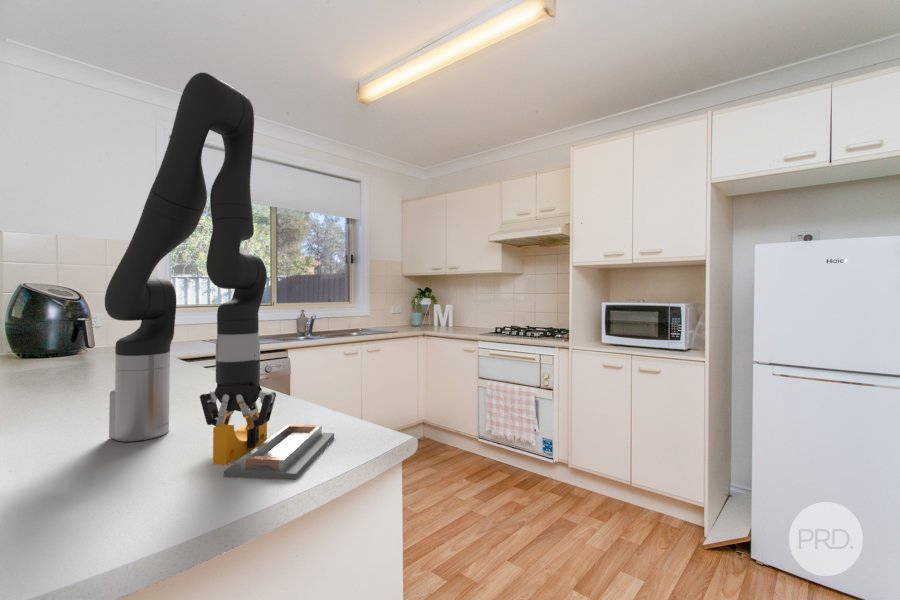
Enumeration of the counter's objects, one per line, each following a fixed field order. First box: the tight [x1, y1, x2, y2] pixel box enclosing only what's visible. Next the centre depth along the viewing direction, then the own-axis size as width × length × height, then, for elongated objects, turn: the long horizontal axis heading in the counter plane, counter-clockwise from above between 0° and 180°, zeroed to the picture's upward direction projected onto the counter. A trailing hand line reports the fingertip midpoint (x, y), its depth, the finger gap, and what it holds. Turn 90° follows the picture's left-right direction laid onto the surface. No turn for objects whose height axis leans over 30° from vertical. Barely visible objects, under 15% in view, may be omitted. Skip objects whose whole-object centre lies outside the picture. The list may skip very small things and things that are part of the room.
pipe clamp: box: [212, 408, 268, 466], centre depth 78 cm, size 12×4×6 cm, turn 171°
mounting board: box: [223, 432, 335, 481], centre depth 77 cm, size 12×20×1 cm, turn 178°
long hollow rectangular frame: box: [240, 423, 323, 471], centre depth 77 cm, size 7×18×2 cm, turn 178°
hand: (238, 446), depth 78 cm, fingers closed on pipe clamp, 4 cm apart
